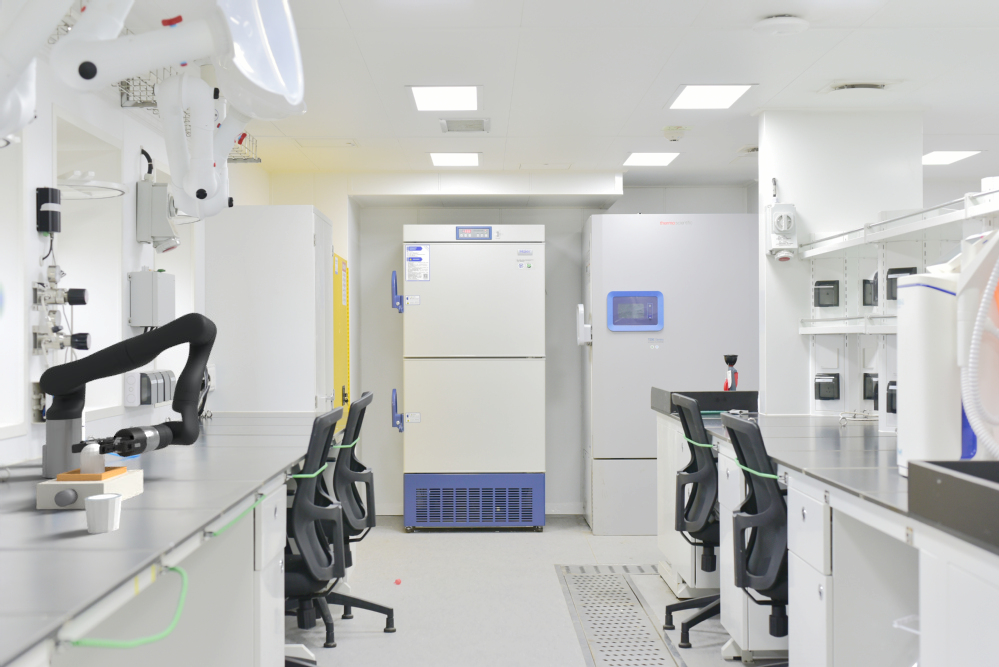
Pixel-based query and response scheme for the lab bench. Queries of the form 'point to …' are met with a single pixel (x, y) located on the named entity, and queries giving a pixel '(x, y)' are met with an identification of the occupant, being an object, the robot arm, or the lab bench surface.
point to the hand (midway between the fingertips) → (86, 449)
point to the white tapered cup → (103, 512)
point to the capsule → (92, 460)
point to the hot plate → (87, 487)
